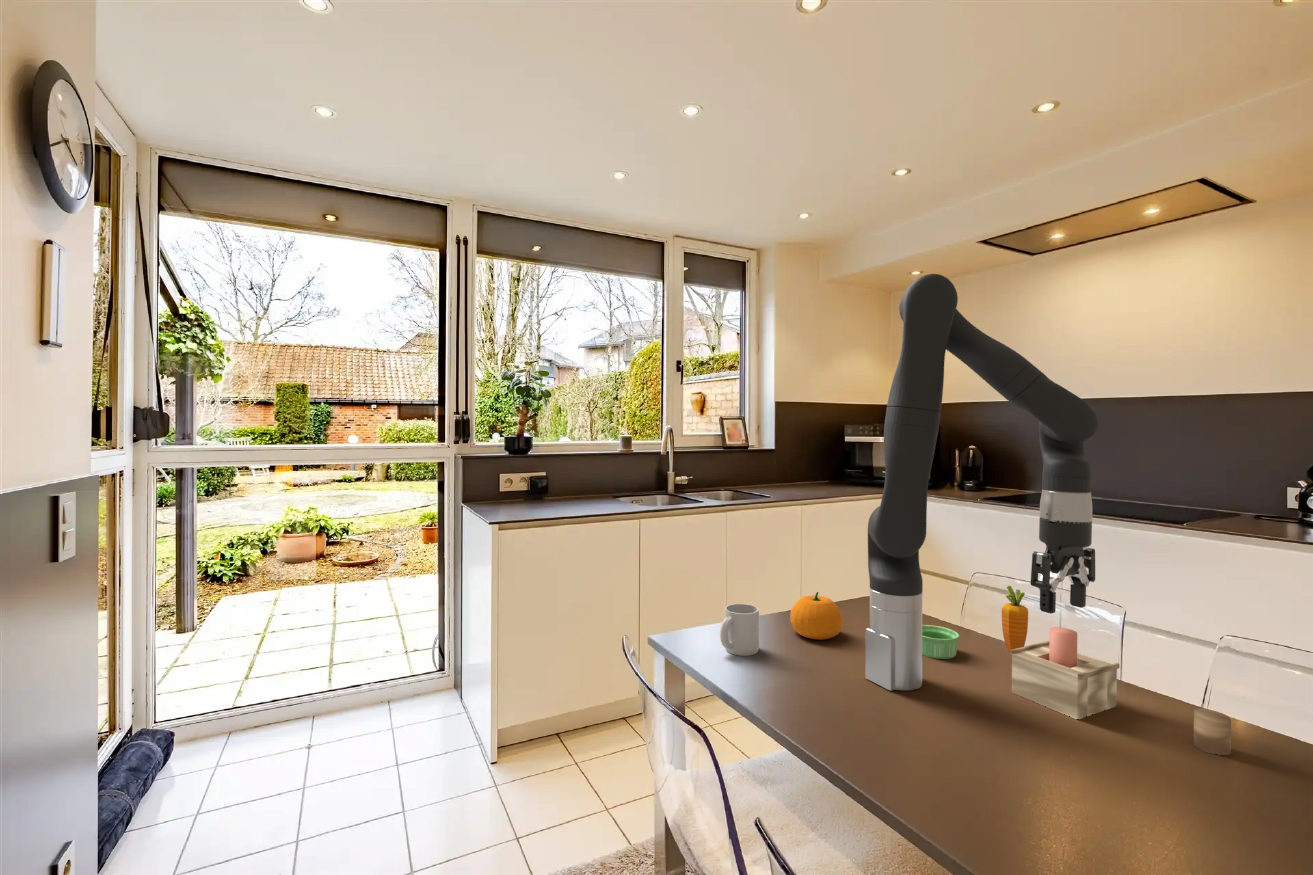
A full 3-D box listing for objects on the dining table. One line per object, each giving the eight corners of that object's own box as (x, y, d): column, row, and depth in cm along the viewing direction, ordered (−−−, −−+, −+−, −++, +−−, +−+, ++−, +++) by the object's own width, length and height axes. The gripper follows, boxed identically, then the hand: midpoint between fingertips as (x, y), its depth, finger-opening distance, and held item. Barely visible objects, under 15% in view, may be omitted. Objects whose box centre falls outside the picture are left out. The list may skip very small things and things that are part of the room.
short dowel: (1222, 758, 84) (1222, 723, 84) (1188, 744, 88) (1188, 711, 87) (1236, 751, 86) (1236, 717, 86) (1201, 738, 89) (1202, 706, 89)
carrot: (1033, 665, 117) (1033, 590, 117) (1006, 663, 118) (1006, 589, 118) (1023, 656, 122) (1023, 584, 122) (996, 654, 123) (997, 583, 123)
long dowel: (1067, 706, 100) (1068, 636, 100) (1044, 696, 103) (1044, 629, 103) (1082, 701, 101) (1082, 632, 101) (1058, 692, 105) (1058, 625, 105)
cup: (765, 650, 125) (765, 609, 125) (734, 662, 119) (734, 619, 119) (740, 641, 131) (740, 601, 131) (709, 652, 124) (709, 610, 124)
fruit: (832, 625, 141) (832, 584, 141) (850, 643, 129) (850, 598, 129) (784, 626, 141) (784, 585, 140) (798, 644, 129) (798, 599, 129)
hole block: (1080, 720, 95) (1080, 674, 95) (1009, 691, 105) (1009, 650, 105) (1119, 707, 99) (1119, 663, 99) (1047, 680, 110) (1048, 640, 110)
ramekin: (909, 642, 130) (909, 623, 130) (953, 646, 128) (953, 626, 127) (915, 658, 121) (915, 636, 121) (963, 662, 119) (963, 641, 119)
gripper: (1067, 512, 108) (1065, 599, 109) (1017, 515, 102) (1015, 607, 103) (1113, 518, 101) (1110, 610, 102) (1062, 522, 95) (1059, 620, 96)
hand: (1062, 609), depth 102 cm, fingers open, 8 cm apart
